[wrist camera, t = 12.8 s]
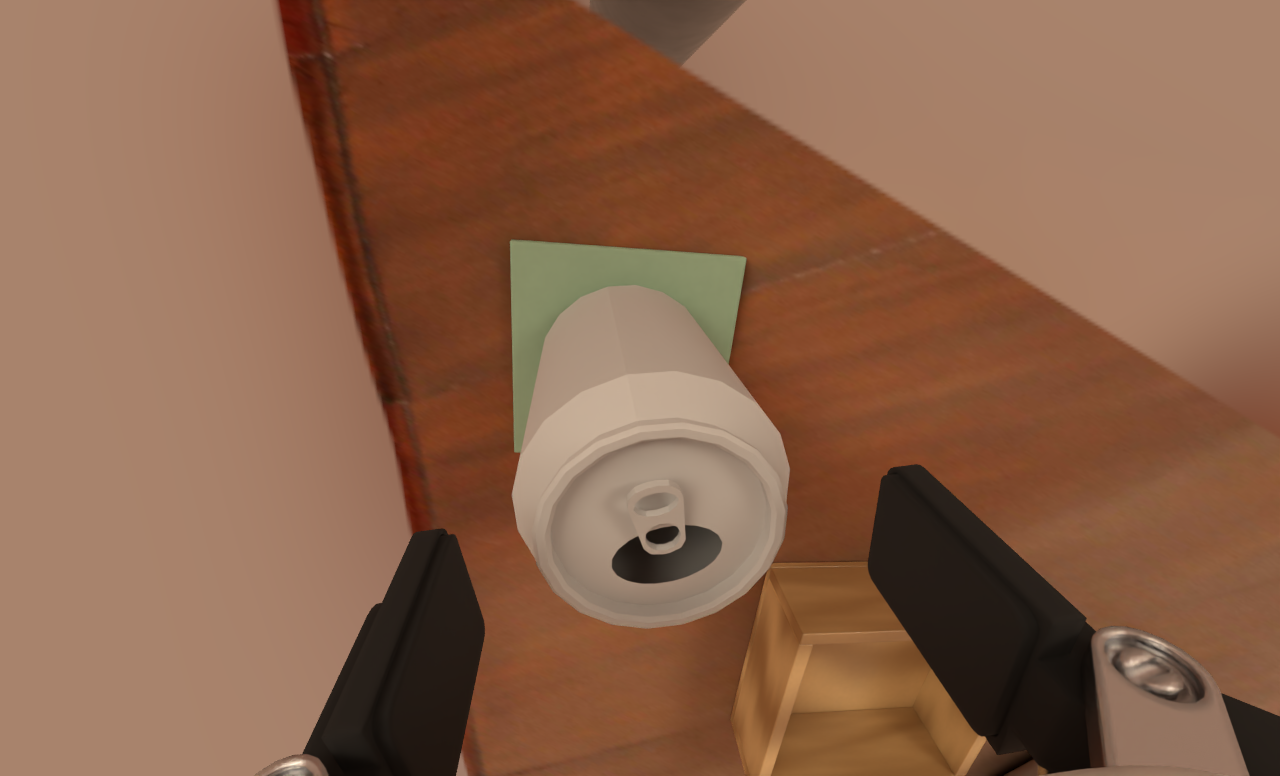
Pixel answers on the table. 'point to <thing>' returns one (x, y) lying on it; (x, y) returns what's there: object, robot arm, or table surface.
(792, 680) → the wooden box
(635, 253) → the mat
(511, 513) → the table surface
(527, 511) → the can
